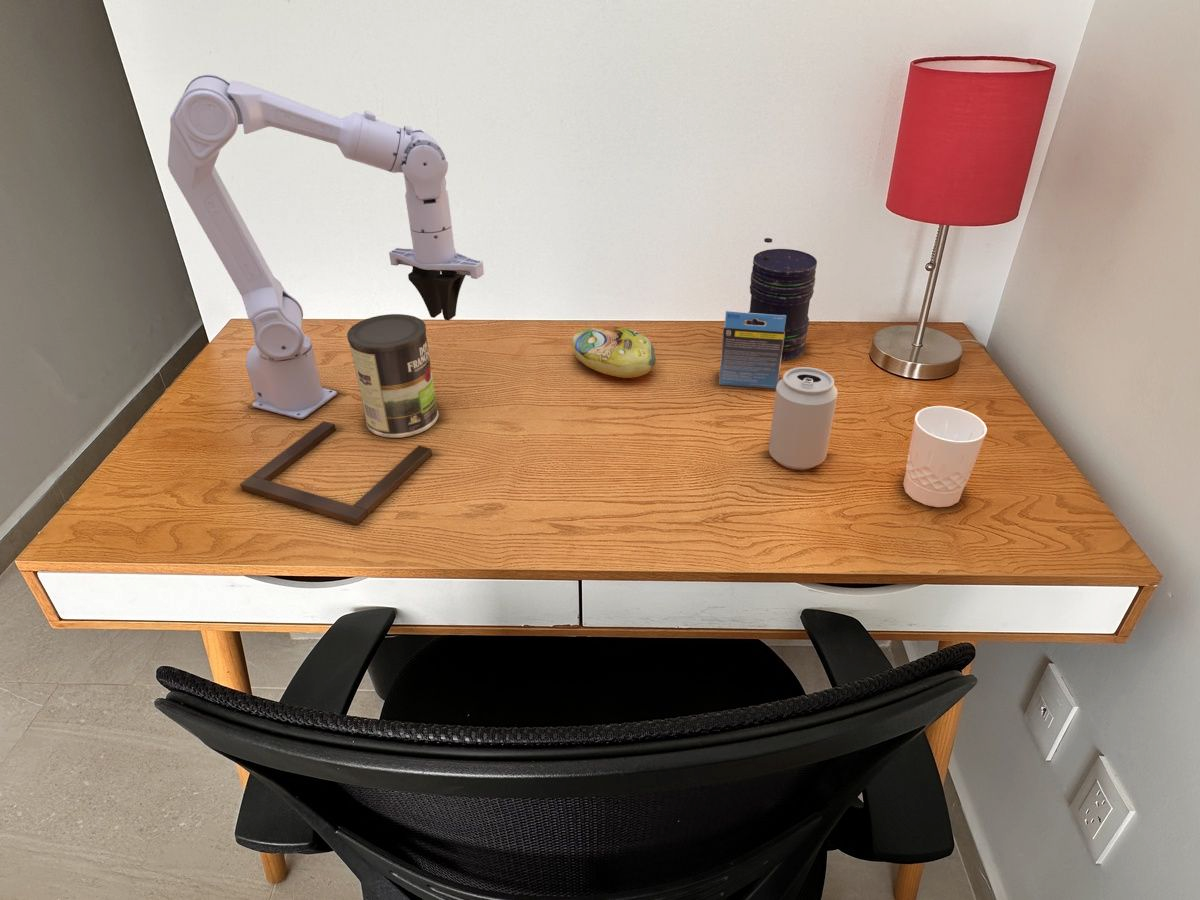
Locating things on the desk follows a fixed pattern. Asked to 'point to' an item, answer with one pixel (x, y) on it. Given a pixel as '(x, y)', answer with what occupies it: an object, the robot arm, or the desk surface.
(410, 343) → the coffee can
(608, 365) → the cell model
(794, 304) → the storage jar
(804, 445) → the can
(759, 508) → the desk surface
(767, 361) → the label tape box
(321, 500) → the walnut frame
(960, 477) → the white cup
